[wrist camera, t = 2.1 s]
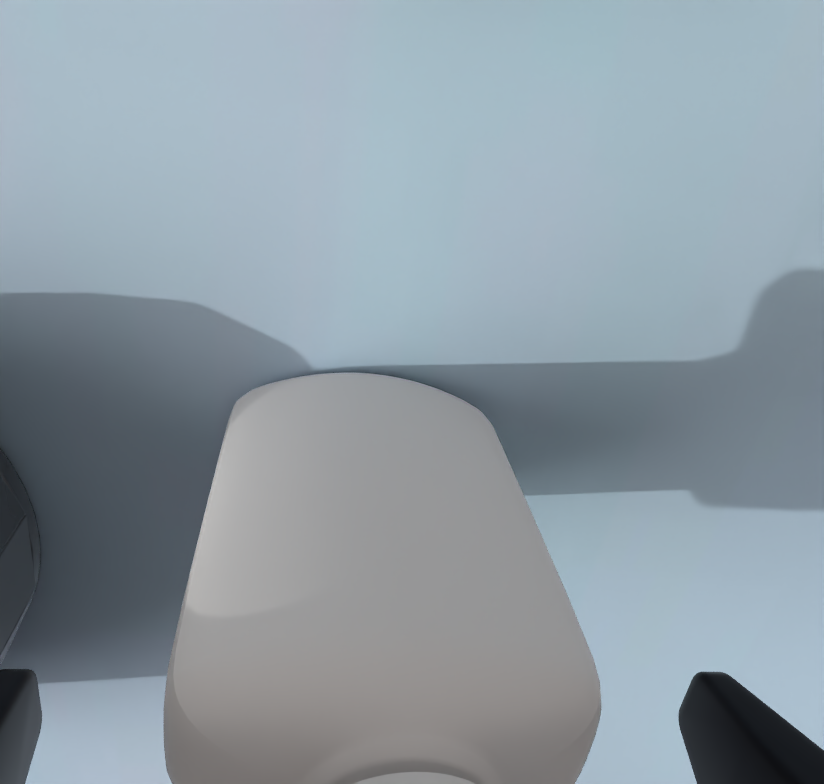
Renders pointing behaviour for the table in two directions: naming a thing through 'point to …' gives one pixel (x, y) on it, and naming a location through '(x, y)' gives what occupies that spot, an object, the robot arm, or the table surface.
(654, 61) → the table surface
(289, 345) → the table surface
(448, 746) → the eye dropper bottle
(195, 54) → the table surface
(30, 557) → the tumbler
